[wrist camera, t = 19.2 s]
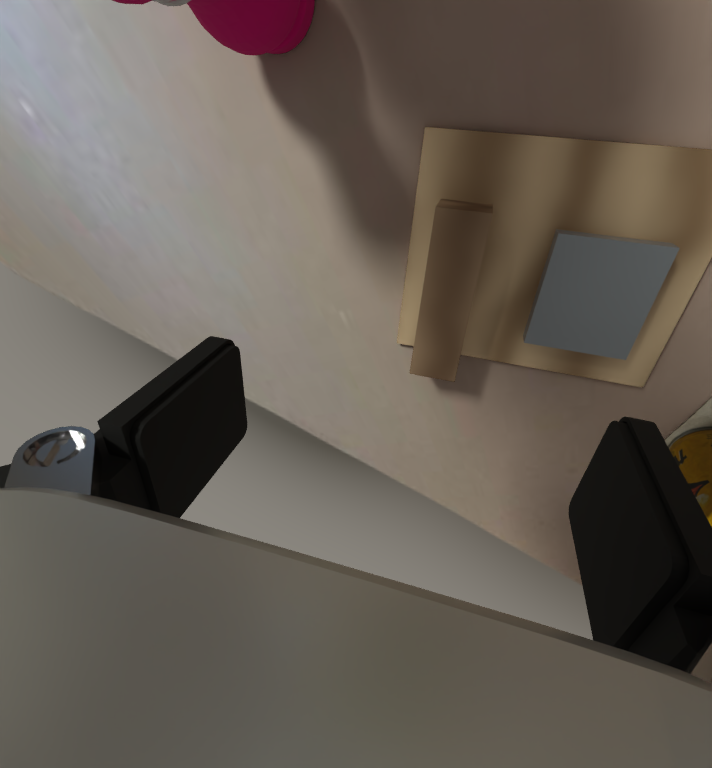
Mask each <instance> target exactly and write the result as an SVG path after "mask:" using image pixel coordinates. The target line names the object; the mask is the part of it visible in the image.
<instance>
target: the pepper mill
mask: <svg viewBox="0 0 712 768" xmlns="http://www.w3.org/2000/svg"><path fill="white" fill-rule="evenodd" d="M113 1H116V2H119V3H124V4H144V3H147V2H149V1H157V2H158V3H160V4H163V5H167V6H181V5H183V4H186V3H187V4H188V5H189V7H190V8H191V10H192V11H193V13H194V14H195V16H196V18H197V19H198V21H199V22H200V24H201V25H202V26H203V27H204V28H205V29H206V30H207V31H208V32H209V33H210V34H211V35H212V36H213V37H214V38H215V39H216V40H217V41H218V42H220V43H221V44H223V45H224V46H226V47H228V48H230V49H232V50H234V51H236V52H238V53H242V54H245V55H261V54H264V53H271V54H281V53H286V52H288V51H290V50H292V49H293V48H295V47H296V46H297V45H298V44H299V43H300V42H301V41H302V40H303V38H304V37H305V35H306V33H307V31H308V29H309V27H310V24H311V21H312V17H313V12H314V4H315V0H113Z"/></svg>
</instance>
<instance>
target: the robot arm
mask: <svg viewBox="0 0 712 768" xmlns="http://www.w3.org/2000/svg"><path fill="white" fill-rule="evenodd" d="M98 424H99V427H100V430H98V431H97V432H96V433H95V434H93V433H92V432H91V431H90V430H88V429H86V428H83V427H76V426H68V427H59V428H55V429H51V430H48V431H45V432H43V433H40V434H38V435H36V436H34V437H33V438H31V439H29V440H28V441H26V442H25V443H24V444H23V445H22V446H21V447H20V448H18V450H17V452H16V453H15V455H14V457H13V460H12V464H9V465H5V466H1V467H0V768H712V527H711V525H710V523H709V521H708V519H707V518H706V516H705V514H704V512H703V510H702V508H701V507H700V505H699V503H698V501H697V499H696V497H695V496H694V494H693V492H692V490H691V488H690V486H689V484H688V483H687V481H686V479H685V477H684V475H683V473H682V472H681V470H680V468H679V466H678V464H677V462H676V461H675V459H674V457H673V455H672V453H671V451H670V450H669V448H668V446H667V444H666V442H665V440H664V439H663V437H662V435H661V433H660V431H659V429H658V428H657V426H656V424H655V423H654V422H650V421H645V420H640V419H635V418H630V417H623V418H621V419H620V420H619V422H617V421H612V422H611V423H610V424H609V426H608V428H607V430H606V432H605V434H604V436H603V438H602V440H601V442H600V444H599V446H598V448H597V450H596V452H595V454H594V456H593V458H592V460H591V462H590V464H589V466H588V468H587V470H586V471H585V473H584V475H583V477H582V479H581V481H580V483H579V485H578V487H577V489H576V491H575V493H574V495H573V497H572V499H571V502H570V505H569V519H570V524H571V529H572V534H573V539H574V544H575V549H576V554H577V559H578V565H579V570H580V575H581V580H582V585H583V590H584V595H585V599H586V605H587V610H588V615H589V620H590V625H591V630H592V636H593V640H590V639H587V638H584V637H581V636H577V635H574V634H571V633H568V632H565V631H561V630H558V629H555V628H552V627H549V626H546V625H542V624H539V623H536V622H532V621H529V620H525V619H522V618H519V617H516V616H512V615H509V614H505V613H502V612H499V611H495V610H492V609H489V608H485V607H482V606H479V605H475V604H472V603H469V602H465V601H462V600H459V599H455V598H452V597H449V596H445V595H442V594H438V593H435V592H432V591H428V590H425V589H421V588H418V587H415V586H412V585H408V584H404V583H401V582H398V581H395V580H391V579H388V578H384V577H381V576H377V575H374V574H370V573H367V572H364V571H360V570H357V569H354V568H350V567H346V566H343V565H340V564H336V563H333V562H330V561H326V560H322V559H319V558H316V557H312V556H309V555H306V554H302V553H299V552H295V551H292V550H288V549H285V548H281V547H278V546H275V545H271V544H268V543H264V542H261V541H257V540H253V539H250V538H247V537H243V536H240V535H236V534H233V533H229V532H226V531H222V530H219V529H215V528H212V527H208V526H205V525H201V524H198V523H194V522H191V521H187V520H183V519H180V517H181V516H182V514H183V513H184V512H185V511H186V509H187V508H188V507H189V505H190V504H191V503H192V502H193V501H194V499H195V498H196V497H197V495H198V494H199V493H200V491H201V490H202V489H203V488H204V487H205V485H206V484H207V483H208V482H209V480H210V479H211V478H212V476H213V475H214V474H215V473H216V471H217V470H218V469H219V468H220V466H221V465H222V464H223V462H224V461H225V460H226V459H227V457H228V456H229V455H230V453H231V452H232V451H233V450H234V449H235V447H236V446H237V444H238V443H239V442H240V441H241V440H242V438H243V437H244V435H245V433H246V430H247V416H246V407H245V397H244V387H243V377H242V368H241V358H240V350H239V348H238V347H237V346H235V344H234V343H233V341H232V340H229V339H224V338H219V337H213V336H210V337H208V338H207V339H205V340H204V341H203V342H201V343H200V344H199V345H198V346H196V347H195V348H194V349H192V350H191V351H190V352H188V353H187V354H186V355H184V356H183V357H182V358H180V359H179V360H178V361H176V362H175V363H174V364H172V365H171V366H170V367H169V368H167V369H166V370H165V371H163V372H162V373H161V374H159V375H158V376H157V377H155V378H154V379H153V380H151V381H150V382H149V383H147V384H146V385H145V386H143V387H142V388H141V389H140V390H138V391H137V392H136V393H134V394H133V395H132V396H130V397H129V398H128V399H126V400H125V401H124V402H122V403H121V404H120V405H119V406H117V407H116V408H114V409H113V410H112V411H111V412H109V413H108V414H107V415H105V416H104V417H103V418H101V419H100V420H99V421H98Z"/></svg>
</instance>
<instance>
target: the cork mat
mask: <svg viewBox="0 0 712 768" xmlns="http://www.w3.org/2000/svg"><path fill="white" fill-rule="evenodd" d="M441 199H449V200H458V201H467V202H476V203H485V204H493V215H492V220H491V224H490V228H489V233H488V237H487V241H486V246H485V250H484V255H483V259H482V263H481V268H480V272H479V276H478V281H477V285H476V290H475V294H474V298H473V303H472V307H471V312H470V316H469V320H468V325H467V329H466V333H465V338H464V342H463V347H462V351H461V355H465V356H470V357H476V358H481V359H487V360H492V361H498V362H504V363H509V364H515V365H520V366H526V367H531V368H537V369H542V370H548V371H553V372H559V373H564V374H570V375H575V376H581V377H586V378H592V379H597V380H603V381H608V382H614V383H620V384H625V385H631V386H636V387H642V388H643V386H644V385H645V383H646V381H647V379H648V377H649V375H650V373H651V371H652V369H653V368H654V366H655V364H656V362H657V360H658V358H659V356H660V354H661V352H662V351H663V349H664V347H665V345H666V343H667V341H668V339H669V337H670V335H671V334H672V332H673V330H674V328H675V326H676V324H677V322H678V320H679V318H680V316H681V315H682V313H683V311H684V309H685V307H686V305H687V303H688V301H689V299H690V298H691V296H692V294H693V292H694V290H695V288H696V286H697V284H698V282H699V281H700V279H701V277H702V275H703V273H704V271H705V269H706V267H707V265H708V264H709V262H710V260H711V258H712V150H710V149H697V148H685V147H672V146H659V145H647V144H634V143H621V142H609V141H596V140H584V139H571V138H558V137H546V136H533V135H521V134H508V133H495V132H483V131H470V130H457V129H445V128H432V127H425V130H424V138H423V146H422V153H421V161H420V169H419V176H418V184H417V192H416V199H415V207H414V215H413V222H412V230H411V238H410V245H409V253H408V261H407V268H406V276H405V284H404V291H403V299H402V307H401V314H400V322H399V329H398V337H397V343H399V344H404V345H410V346H414V342H415V335H416V329H417V322H418V316H419V310H420V303H421V297H422V290H423V284H424V278H425V271H426V265H427V258H428V252H429V246H430V239H431V233H432V226H433V220H434V214H435V207H436V206H437V204H438V203H439V201H440V200H441ZM556 229H559V230H568V231H576V232H584V233H593V234H601V235H610V236H618V237H626V238H635V239H643V240H652V241H660V242H668V243H673V244H675V245H676V246H678V247H679V248H680V249H679V251H678V253H677V255H676V257H675V259H674V261H673V263H672V265H671V268H670V270H669V272H668V274H667V276H666V278H665V280H664V282H663V284H662V286H661V288H660V290H659V292H658V295H657V297H656V299H655V301H654V303H653V305H652V307H651V309H650V311H649V313H648V315H647V317H646V319H645V322H644V324H643V326H642V328H641V330H640V332H639V334H638V336H637V338H636V340H635V342H634V344H633V346H632V349H631V351H630V353H629V355H628V357H627V359H626V360H622V359H616V358H610V357H604V356H599V355H593V354H587V353H581V352H575V351H569V350H563V349H558V348H552V347H546V346H540V345H534V344H528V343H524V340H523V333H524V330H525V327H526V323H527V320H528V317H529V314H530V311H531V307H532V304H533V301H534V298H535V295H536V291H537V288H538V285H539V282H540V279H541V276H542V272H543V269H544V266H545V263H546V260H547V256H548V253H549V250H550V247H551V244H552V240H553V237H554V234H555V231H556Z"/></svg>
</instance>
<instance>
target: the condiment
mask: <svg viewBox="0 0 712 768" xmlns="http://www.w3.org/2000/svg"><path fill="white" fill-rule="evenodd" d="M665 442H666V444H667V446H668V448H669V450H670V451H671V453H672V455H673V457H674V459H675V461H676V462H677V464H678V466H679V468H680V470H681V472H682V473H683V475H684V477H685V479H686V481H687V483H688V484H689V486H690V488H691V490H692V492H693V494H694V496H695V497H696V499H697V501H698V503H699V505H700V507H701V508H702V510H703V512H704V514H705V516H706V518H707V519H708V521H709V523H710V525H711V527H712V398H711V399H710V400H709V401H708V402H707V403H706V404H705V405H704V406H702V407H701V408H700V409H699V410H698V411H697V412H696V413H695V414H694V415H693V416H691V417H690V418H689V419H688V420H687V421H686V422H685V423H684V424H682V425H681V426H680V427H679V428H678V429H677V430H675V431H674V432H673V433H672V434H671V435H670V436H669V437H668V438H666V439H665Z"/></svg>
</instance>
